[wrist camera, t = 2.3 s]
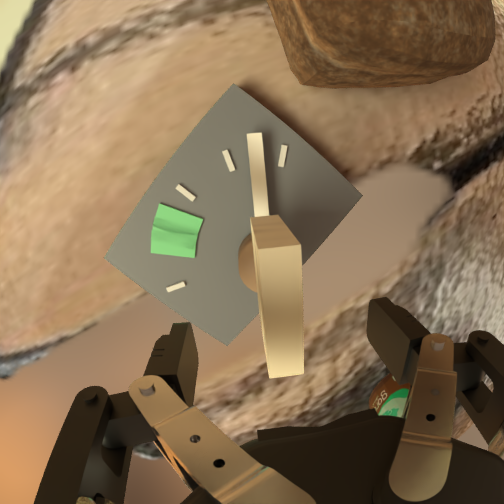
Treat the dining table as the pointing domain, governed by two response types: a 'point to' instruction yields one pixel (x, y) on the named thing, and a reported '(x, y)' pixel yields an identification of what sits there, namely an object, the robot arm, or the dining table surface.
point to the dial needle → (273, 274)
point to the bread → (383, 40)
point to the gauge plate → (225, 213)
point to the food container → (389, 397)
